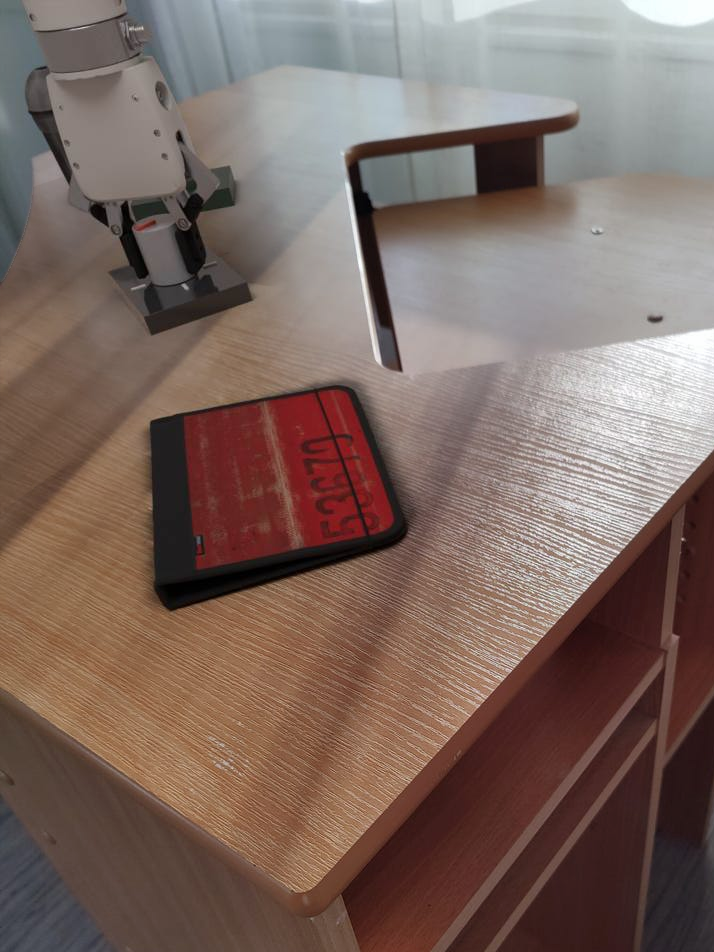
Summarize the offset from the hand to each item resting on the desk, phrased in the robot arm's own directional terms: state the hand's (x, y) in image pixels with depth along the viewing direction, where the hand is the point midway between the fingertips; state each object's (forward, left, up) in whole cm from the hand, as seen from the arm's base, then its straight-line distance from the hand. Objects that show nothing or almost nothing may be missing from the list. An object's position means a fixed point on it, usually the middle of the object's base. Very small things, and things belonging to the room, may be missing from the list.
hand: (171, 268), depth 84 cm
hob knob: (0, 0, -1) cm, 1 cm away
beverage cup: (-35, +21, -4) cm, 41 cm away
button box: (-22, +24, -4) cm, 33 cm away
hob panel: (0, 0, -4) cm, 4 cm away
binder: (+29, -22, -4) cm, 37 cm away
